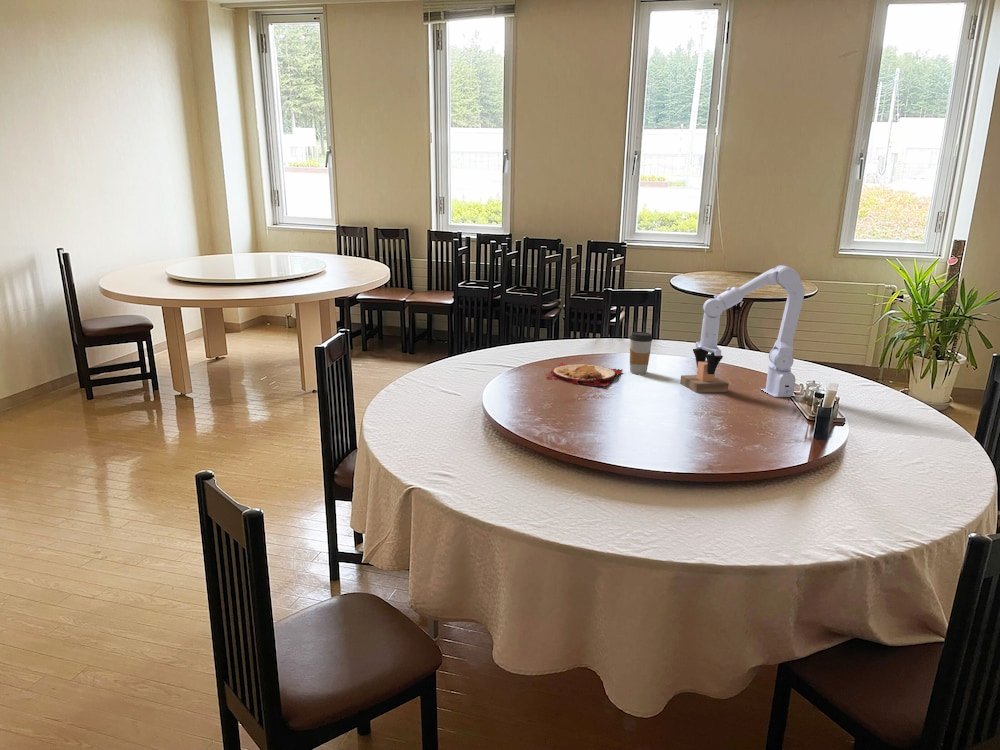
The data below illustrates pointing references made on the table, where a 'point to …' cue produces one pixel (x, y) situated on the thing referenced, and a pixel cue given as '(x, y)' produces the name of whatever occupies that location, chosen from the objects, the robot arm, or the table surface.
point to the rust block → (704, 372)
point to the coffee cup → (639, 352)
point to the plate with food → (584, 374)
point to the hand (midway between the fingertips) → (705, 371)
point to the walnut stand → (704, 384)
